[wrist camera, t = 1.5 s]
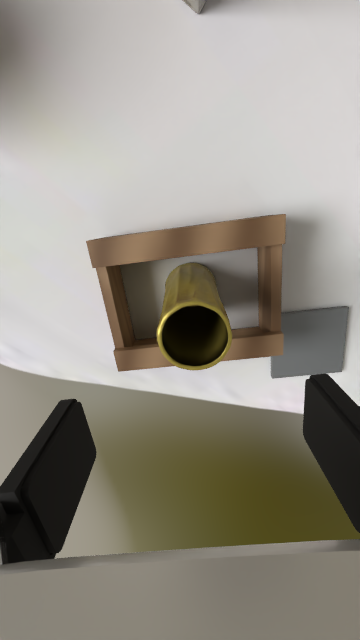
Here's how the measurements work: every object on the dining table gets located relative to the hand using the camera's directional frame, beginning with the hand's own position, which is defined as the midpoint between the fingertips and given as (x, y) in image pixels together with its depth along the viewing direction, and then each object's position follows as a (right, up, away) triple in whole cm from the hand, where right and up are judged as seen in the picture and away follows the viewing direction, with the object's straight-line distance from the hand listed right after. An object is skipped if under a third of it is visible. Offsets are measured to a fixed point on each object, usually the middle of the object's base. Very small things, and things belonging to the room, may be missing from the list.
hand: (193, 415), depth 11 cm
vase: (+1, +8, +20) cm, 22 cm away
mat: (+16, +1, +22) cm, 27 cm away
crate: (+1, +8, +20) cm, 22 cm away
